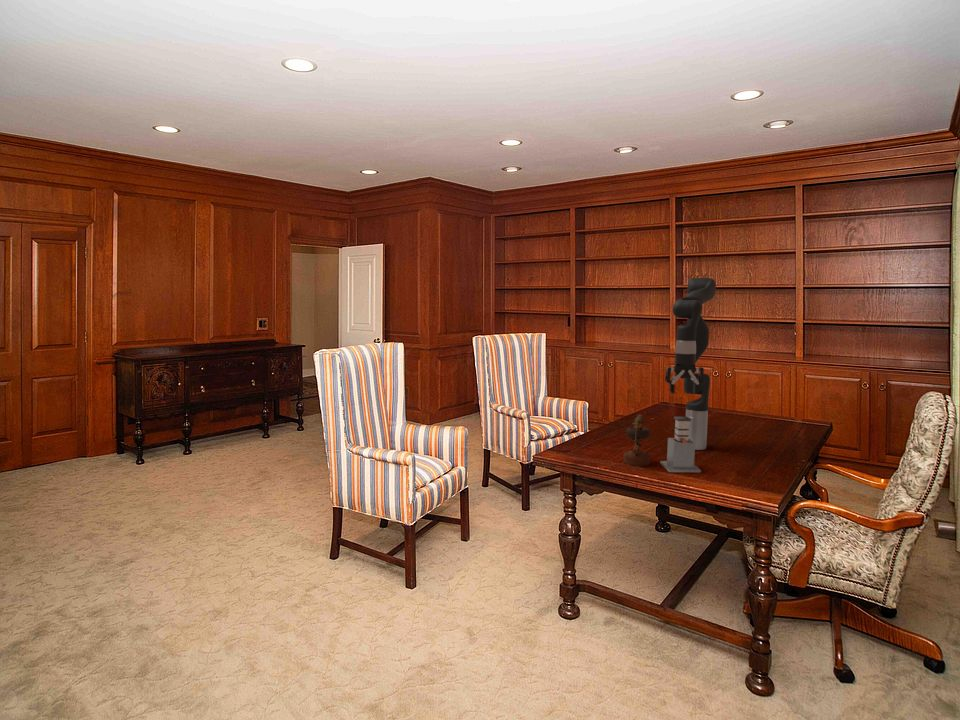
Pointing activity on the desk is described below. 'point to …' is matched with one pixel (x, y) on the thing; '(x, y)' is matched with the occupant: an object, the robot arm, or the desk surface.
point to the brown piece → (637, 444)
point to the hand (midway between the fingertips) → (683, 393)
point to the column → (681, 428)
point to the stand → (680, 456)
